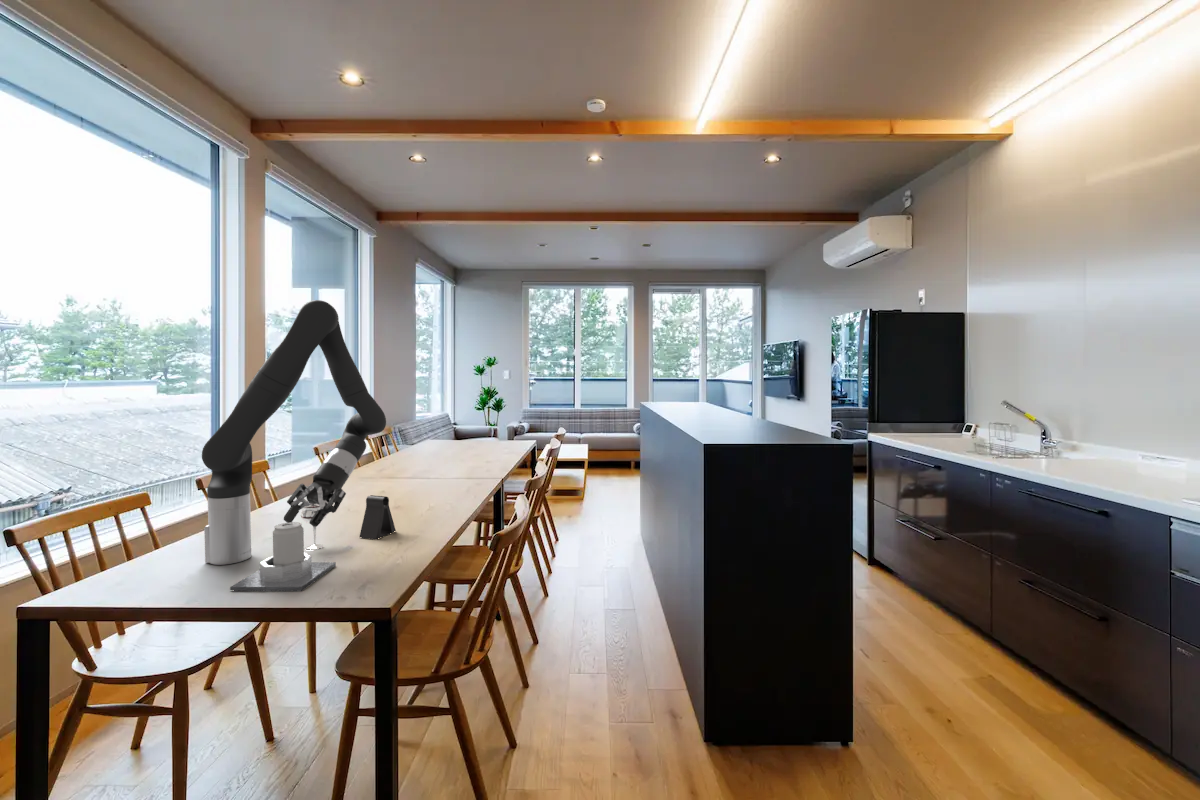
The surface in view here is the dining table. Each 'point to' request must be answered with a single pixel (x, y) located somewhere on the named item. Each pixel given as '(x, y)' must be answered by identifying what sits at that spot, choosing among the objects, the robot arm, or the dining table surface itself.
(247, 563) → the dining table surface
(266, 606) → the dining table surface
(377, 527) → the phone stand
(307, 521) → the wineglass
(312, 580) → the collar stand
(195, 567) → the dining table surface
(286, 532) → the beverage can
